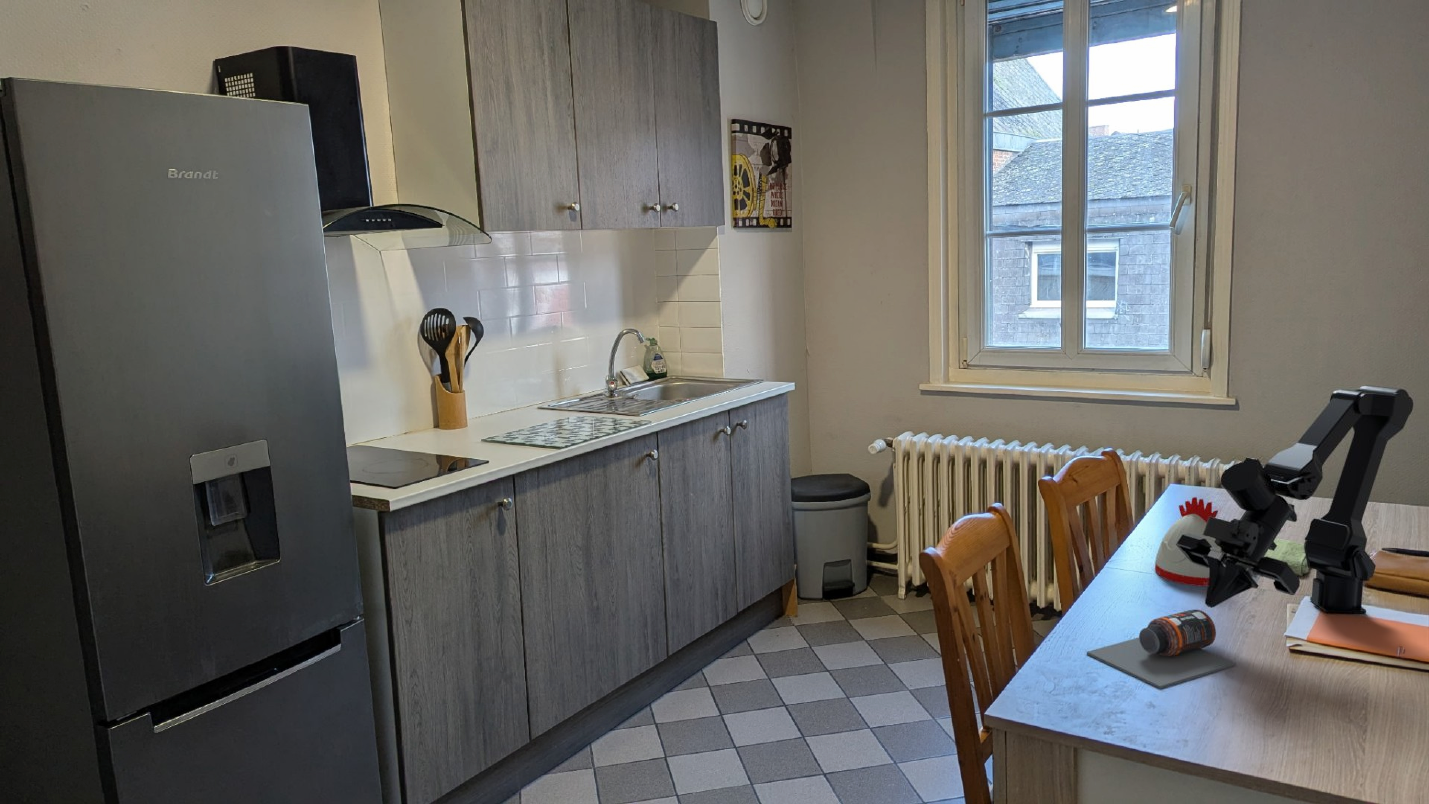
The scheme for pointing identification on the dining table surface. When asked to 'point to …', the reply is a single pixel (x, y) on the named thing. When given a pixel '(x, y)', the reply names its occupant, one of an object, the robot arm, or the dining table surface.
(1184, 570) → the kitchen timer
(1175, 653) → the supplement bottle
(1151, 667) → the mat
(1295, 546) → the washcloth
